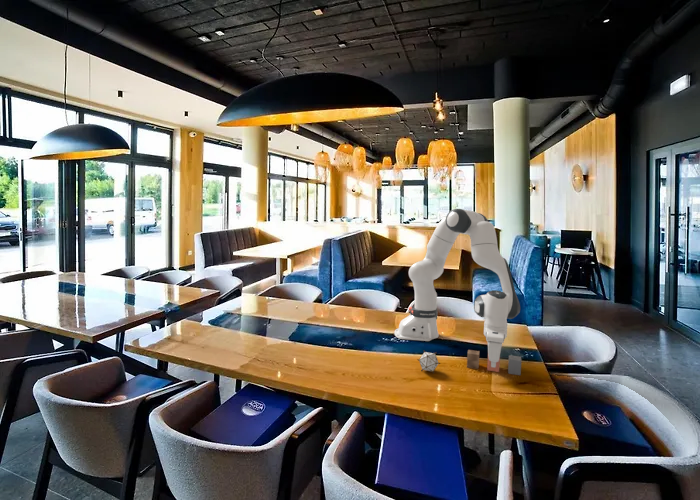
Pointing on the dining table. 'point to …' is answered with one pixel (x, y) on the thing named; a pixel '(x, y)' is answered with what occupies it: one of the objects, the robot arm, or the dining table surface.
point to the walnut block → (473, 359)
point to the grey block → (514, 365)
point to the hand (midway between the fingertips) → (493, 364)
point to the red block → (493, 367)
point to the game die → (428, 361)
